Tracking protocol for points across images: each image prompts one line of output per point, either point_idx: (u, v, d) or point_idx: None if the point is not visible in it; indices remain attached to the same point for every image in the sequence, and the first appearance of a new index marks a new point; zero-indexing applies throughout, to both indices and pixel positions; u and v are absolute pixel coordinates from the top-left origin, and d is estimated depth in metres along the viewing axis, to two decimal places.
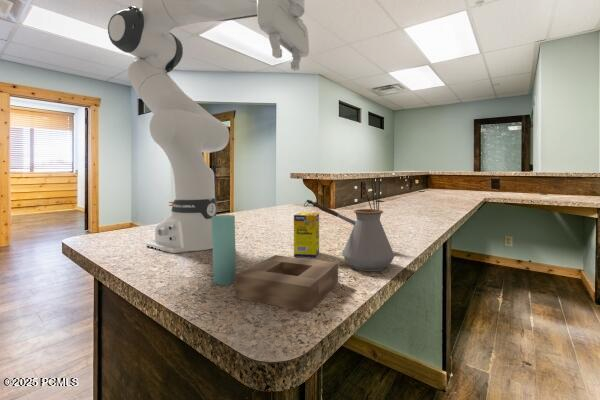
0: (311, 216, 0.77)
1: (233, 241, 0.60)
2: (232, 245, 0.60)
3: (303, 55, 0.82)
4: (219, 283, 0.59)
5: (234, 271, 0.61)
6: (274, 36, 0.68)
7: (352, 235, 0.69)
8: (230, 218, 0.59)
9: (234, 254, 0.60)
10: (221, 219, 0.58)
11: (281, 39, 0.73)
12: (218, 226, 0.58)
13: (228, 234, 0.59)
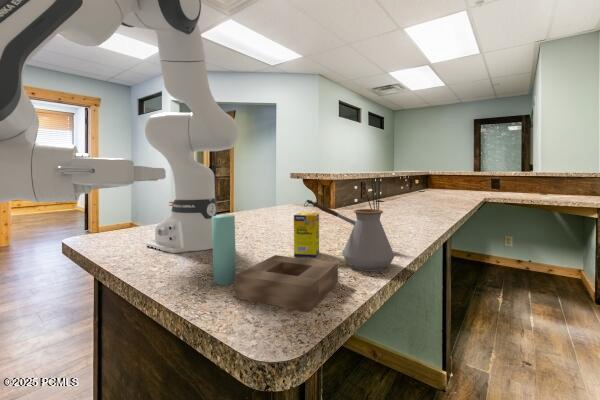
0: (311, 216, 0.77)
1: (233, 241, 0.60)
2: (232, 245, 0.60)
3: None
4: (219, 283, 0.59)
5: (234, 271, 0.61)
6: None
7: (352, 235, 0.69)
8: (230, 218, 0.59)
9: (234, 254, 0.60)
10: (221, 219, 0.58)
11: None
12: (218, 226, 0.58)
13: (228, 234, 0.59)
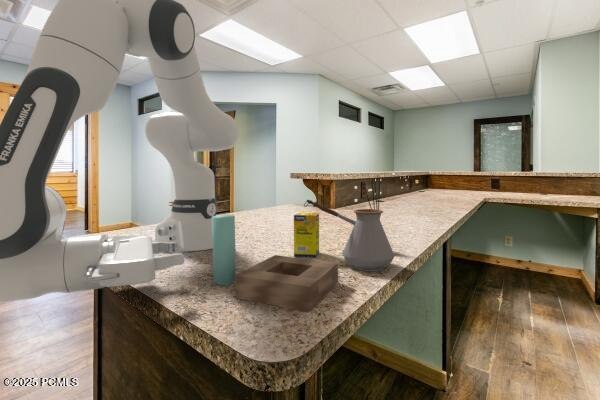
0: (311, 216, 0.77)
1: (233, 241, 0.60)
2: (232, 245, 0.60)
3: None
4: (219, 283, 0.59)
5: (234, 271, 0.61)
6: None
7: (352, 235, 0.69)
8: (230, 218, 0.59)
9: (234, 254, 0.60)
10: (221, 219, 0.58)
11: None
12: (218, 226, 0.58)
13: (228, 234, 0.59)
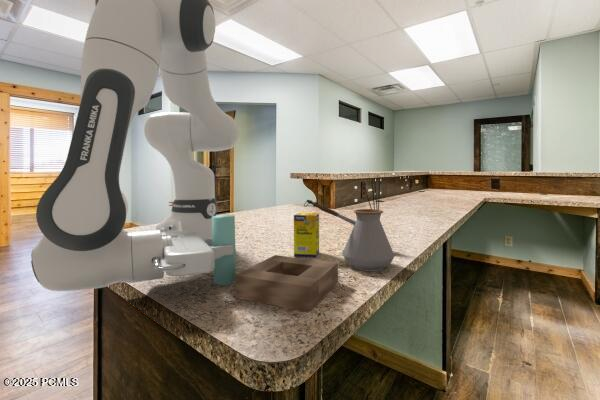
0: (311, 216, 0.77)
1: (233, 241, 0.60)
2: (232, 245, 0.60)
3: None
4: (219, 283, 0.59)
5: (234, 271, 0.61)
6: None
7: (352, 235, 0.69)
8: (230, 218, 0.59)
9: (234, 254, 0.60)
10: (221, 219, 0.58)
11: None
12: (218, 226, 0.58)
13: (228, 234, 0.59)
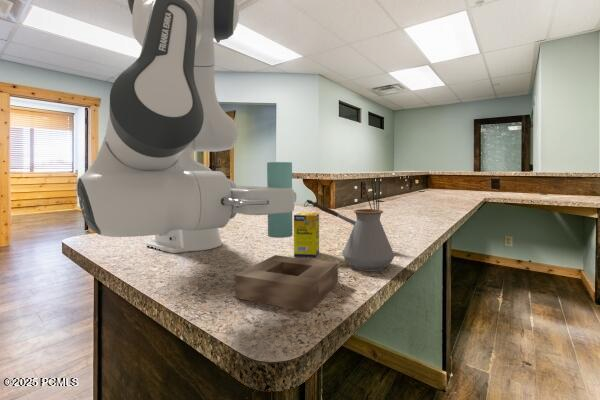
0: (311, 216, 0.77)
1: None
2: None
3: None
4: (278, 236, 0.53)
5: None
6: None
7: (352, 235, 0.69)
8: (290, 163, 0.53)
9: None
10: (282, 163, 0.52)
11: None
12: (278, 172, 0.52)
13: (288, 180, 0.53)
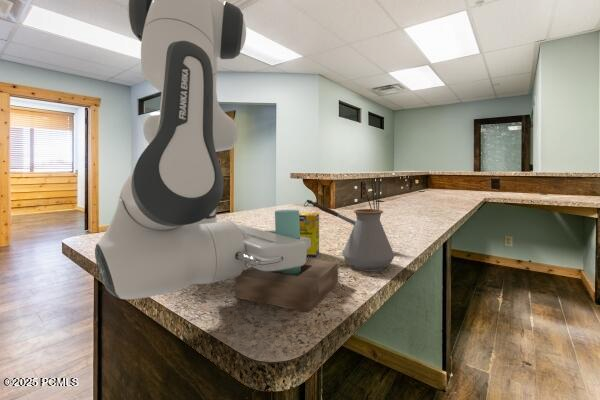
0: (311, 216, 0.77)
1: (299, 237, 0.55)
2: None
3: None
4: None
5: (300, 270, 0.56)
6: None
7: (352, 235, 0.69)
8: (297, 212, 0.54)
9: None
10: (290, 213, 0.53)
11: None
12: (287, 222, 0.53)
13: (296, 229, 0.54)
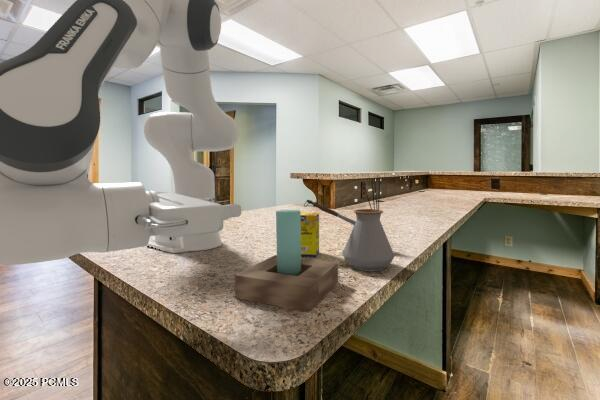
0: (311, 216, 0.77)
1: (300, 237, 0.55)
2: (300, 241, 0.55)
3: None
4: None
5: (300, 270, 0.56)
6: None
7: (352, 235, 0.69)
8: (299, 212, 0.54)
9: (300, 252, 0.56)
10: (291, 214, 0.53)
11: None
12: (288, 222, 0.53)
13: (297, 230, 0.54)
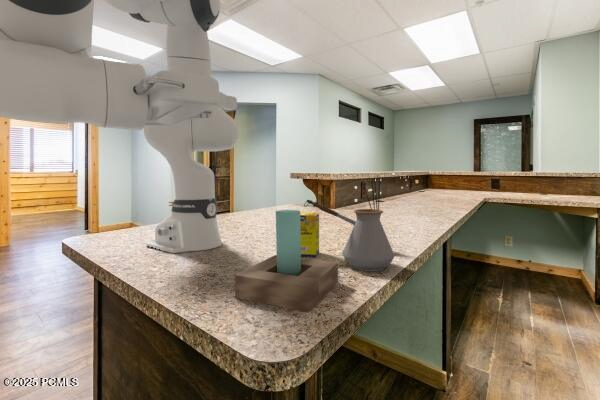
0: (311, 216, 0.77)
1: (300, 237, 0.55)
2: (299, 242, 0.55)
3: None
4: None
5: (300, 270, 0.56)
6: None
7: (352, 235, 0.69)
8: (298, 213, 0.54)
9: (300, 252, 0.56)
10: (291, 214, 0.53)
11: None
12: (287, 222, 0.53)
13: (297, 230, 0.54)
